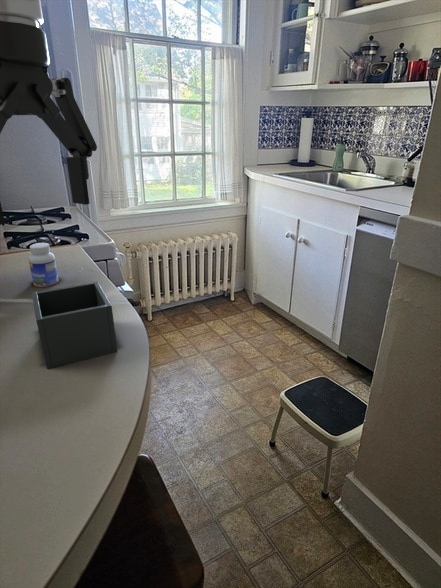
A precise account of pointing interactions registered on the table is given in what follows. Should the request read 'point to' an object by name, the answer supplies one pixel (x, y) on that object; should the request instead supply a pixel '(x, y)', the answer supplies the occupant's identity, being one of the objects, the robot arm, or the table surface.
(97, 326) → the trash bin
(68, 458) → the table surface
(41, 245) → the pill bottle
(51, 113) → the robot arm
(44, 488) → the table surface
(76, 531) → the table surface
